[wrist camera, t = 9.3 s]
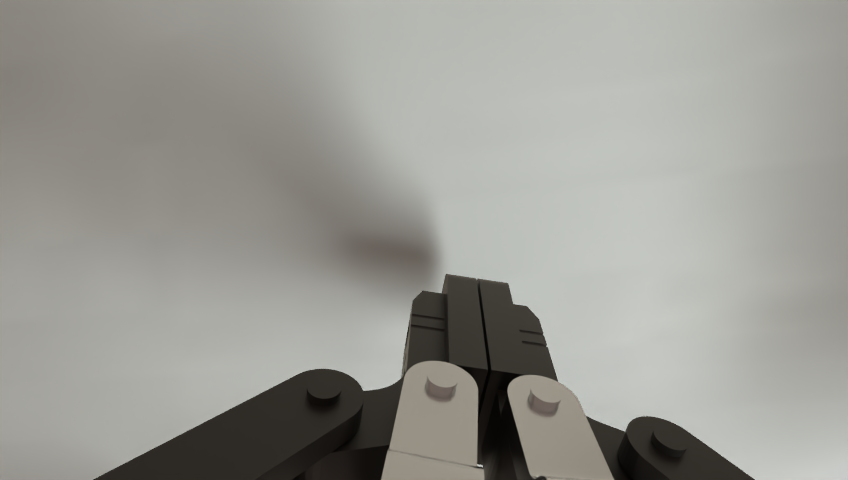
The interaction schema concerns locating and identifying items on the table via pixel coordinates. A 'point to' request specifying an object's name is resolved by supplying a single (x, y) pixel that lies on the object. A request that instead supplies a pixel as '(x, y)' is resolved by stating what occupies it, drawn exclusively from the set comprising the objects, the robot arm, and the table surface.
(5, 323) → the table surface
